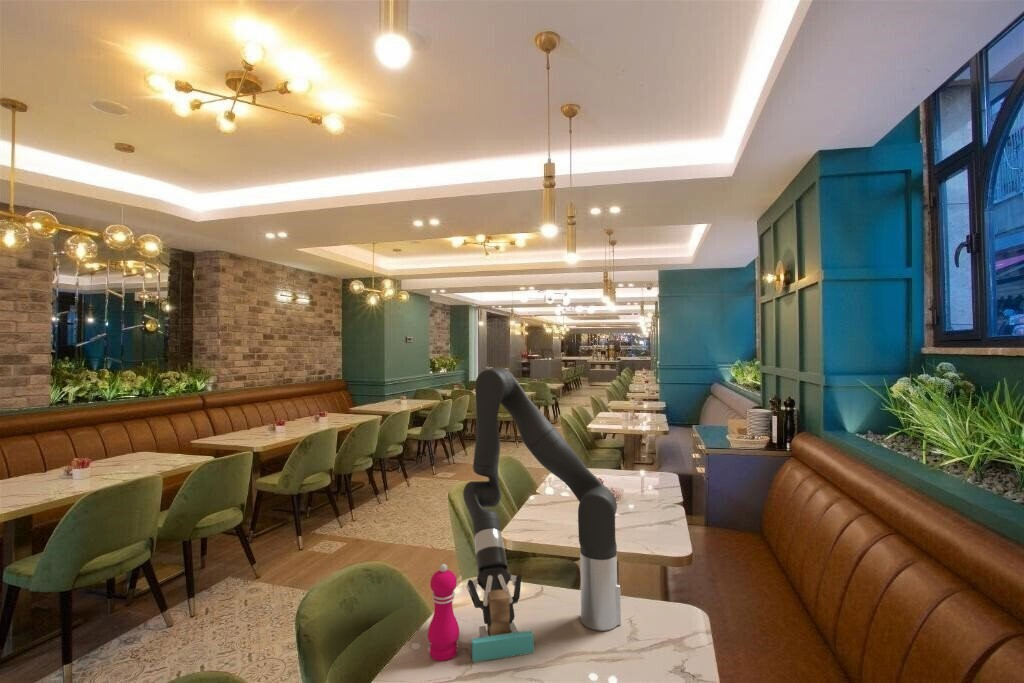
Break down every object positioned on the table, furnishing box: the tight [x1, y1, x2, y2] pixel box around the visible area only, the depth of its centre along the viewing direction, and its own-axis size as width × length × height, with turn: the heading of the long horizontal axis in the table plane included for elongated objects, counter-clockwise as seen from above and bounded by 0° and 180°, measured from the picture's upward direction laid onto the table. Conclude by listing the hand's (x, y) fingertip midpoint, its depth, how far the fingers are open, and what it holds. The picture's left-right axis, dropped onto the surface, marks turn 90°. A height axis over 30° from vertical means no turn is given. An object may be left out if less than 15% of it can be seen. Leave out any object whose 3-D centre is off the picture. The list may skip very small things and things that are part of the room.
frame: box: [478, 621, 519, 638], centre depth 116 cm, size 8×6×3 cm
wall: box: [471, 630, 535, 663], centre depth 112 cm, size 14×2×4 cm, turn 103°
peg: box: [486, 589, 510, 636], centre depth 117 cm, size 4×4×10 cm
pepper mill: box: [427, 563, 460, 662], centre depth 113 cm, size 7×7×20 cm
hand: (500, 623), depth 115 cm, fingers closed on peg, 4 cm apart
